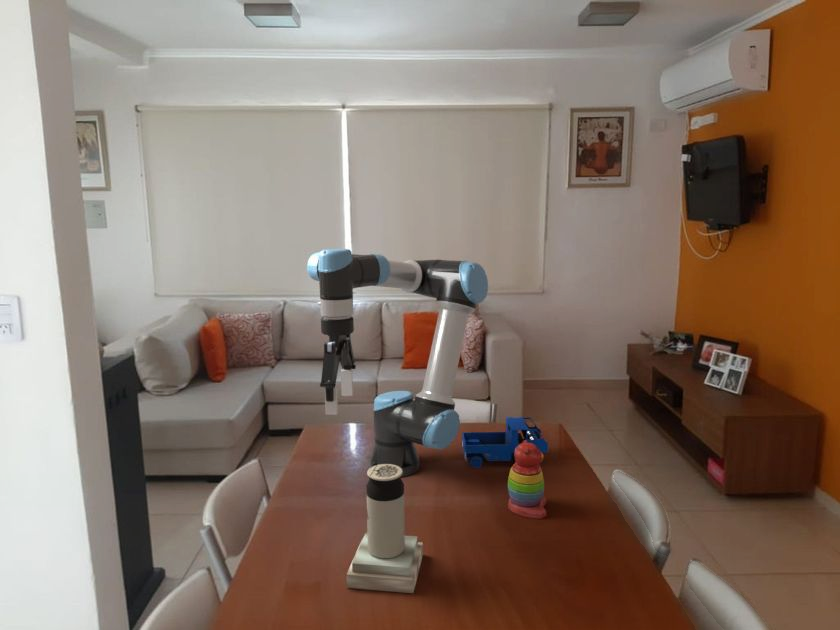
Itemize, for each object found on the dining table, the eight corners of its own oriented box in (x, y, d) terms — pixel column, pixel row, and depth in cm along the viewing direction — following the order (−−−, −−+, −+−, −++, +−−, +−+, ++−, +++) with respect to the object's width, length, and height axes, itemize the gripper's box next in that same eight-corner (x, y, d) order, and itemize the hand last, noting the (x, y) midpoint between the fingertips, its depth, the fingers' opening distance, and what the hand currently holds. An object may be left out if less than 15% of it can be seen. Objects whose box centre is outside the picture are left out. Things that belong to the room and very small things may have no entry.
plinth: (362, 550, 139) (362, 530, 138) (422, 554, 137) (422, 534, 136) (346, 587, 125) (346, 565, 124) (413, 593, 123) (413, 571, 122)
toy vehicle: (465, 468, 182) (465, 431, 179) (462, 452, 193) (462, 417, 191) (547, 467, 182) (549, 430, 180) (539, 451, 194) (540, 416, 192)
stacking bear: (546, 520, 152) (548, 453, 148) (505, 516, 154) (507, 450, 150) (546, 499, 162) (548, 437, 159) (508, 496, 164) (509, 434, 161)
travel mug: (409, 542, 133) (409, 465, 129) (396, 562, 125) (395, 481, 122) (376, 536, 135) (375, 461, 132) (361, 555, 128) (359, 476, 125)
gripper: (336, 307, 152) (338, 388, 155) (303, 326, 127) (307, 422, 131) (365, 307, 151) (367, 389, 154) (337, 327, 126) (340, 423, 130)
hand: (339, 404), depth 143 cm, fingers open, 13 cm apart
